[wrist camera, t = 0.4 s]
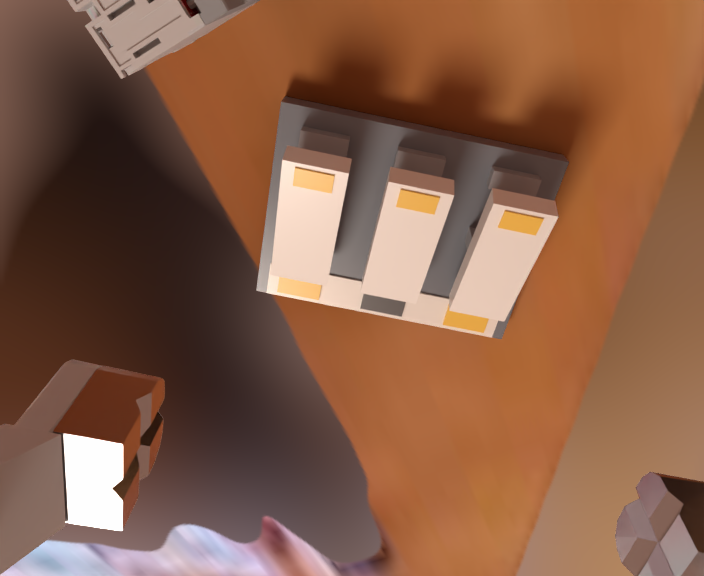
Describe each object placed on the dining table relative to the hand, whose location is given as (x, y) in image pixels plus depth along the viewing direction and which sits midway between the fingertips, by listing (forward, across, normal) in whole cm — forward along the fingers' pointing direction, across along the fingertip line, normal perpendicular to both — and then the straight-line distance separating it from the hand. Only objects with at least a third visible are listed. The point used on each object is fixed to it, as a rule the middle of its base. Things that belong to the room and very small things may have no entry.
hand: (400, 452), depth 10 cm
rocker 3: (+39, -12, +13) cm, 43 cm away
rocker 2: (+39, -4, +13) cm, 41 cm away
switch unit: (+45, -4, +14) cm, 47 cm away
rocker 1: (+39, +4, +13) cm, 41 cm away
